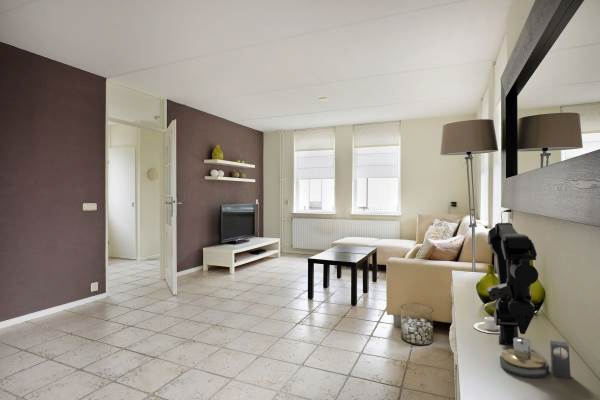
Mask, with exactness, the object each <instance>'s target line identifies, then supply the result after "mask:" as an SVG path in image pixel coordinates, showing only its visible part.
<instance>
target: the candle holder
mask: <svg viewBox="0 0 600 400" xmlns="http://www.w3.org/2000/svg"><path fill="white" fill-rule="evenodd" d="M479 326H484V327H485V329H486V330H487V331H486V330H482V329H481V328H480V327H479ZM473 328H475V330H478V331H480V332H483V333H487V334H500V331H497V330H498V328H500V327H499V326H496V324H495V322H494V316H486V317H484V321H483V322H481V321H480V322H476V323H475V324H473ZM494 331H495V332H494Z"/></svg>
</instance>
